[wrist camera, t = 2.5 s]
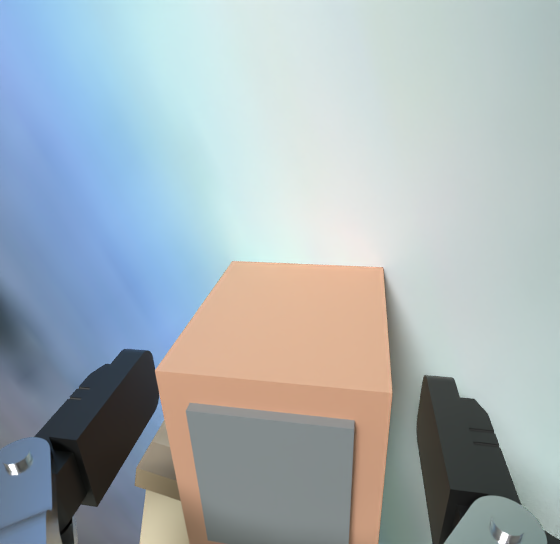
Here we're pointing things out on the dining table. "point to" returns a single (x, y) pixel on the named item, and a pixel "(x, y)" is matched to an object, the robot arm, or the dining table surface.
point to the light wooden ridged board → (160, 494)
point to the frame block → (282, 406)
